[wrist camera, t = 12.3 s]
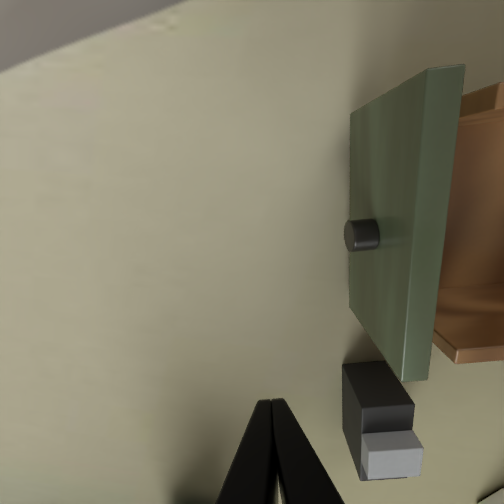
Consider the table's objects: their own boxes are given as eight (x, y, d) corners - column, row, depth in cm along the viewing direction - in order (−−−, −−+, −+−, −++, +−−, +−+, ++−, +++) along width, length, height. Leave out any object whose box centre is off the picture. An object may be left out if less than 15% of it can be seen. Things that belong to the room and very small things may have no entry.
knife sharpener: (381, 426, 22) (417, 498, 18) (342, 429, 23) (367, 501, 18) (385, 360, 20) (427, 421, 15) (341, 363, 20) (369, 425, 16)
